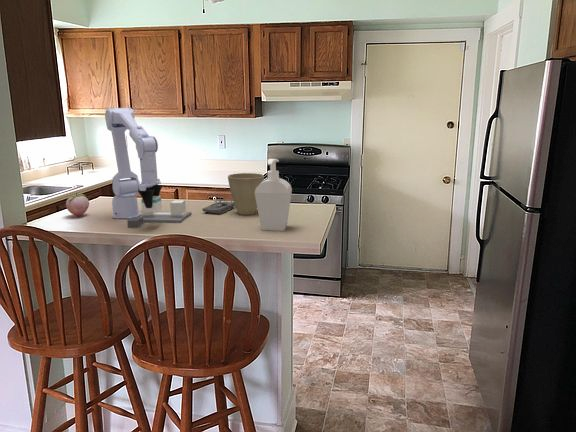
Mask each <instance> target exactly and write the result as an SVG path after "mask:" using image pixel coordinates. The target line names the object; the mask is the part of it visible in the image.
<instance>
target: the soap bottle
mask: <svg viewBox="0 0 576 432" xmlns="http://www.w3.org/2000/svg"><path fill="white" fill-rule="evenodd" d="M279 162H280V160H279V159H278V158H268V160H267V165H268V166H269V167H270V170H268V171H267V179H265V180H264V179H263V182H262V183H260V184H259V185H258V187H257V188H256V190H255V198H256V203H257V213H258V218H259V223H260V228H261V231H278V232H279V231H280V232H281V231H283V232H284V231H285V230H286V228H287V227H288V219H289V213H290V207H291V200H292V199H291V198H292V191H293V188H292V184H290V183H289V182H288V181H287V180H285V179H283V178H281V177H280V175H279V174H280V171H279V170H277V167H276V166H277V165H276V164H277V163H279Z"/></svg>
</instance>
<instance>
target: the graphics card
mask: <svg viewBox="0 0 576 432" xmlns="http://www.w3.org/2000/svg"><path fill="white" fill-rule="evenodd" d="M213 200H214V203H212V204H209V205H208V206H207V205H206V207H203V208H201V209H202V212H207V213H211V214H212V213H213V214H224V213H227V212H228V211H230V210H232V211H233V210H236V207H235V204H234V201H233V199H220V198H219V199H217V198H216V199H213Z"/></svg>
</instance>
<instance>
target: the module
mask: <svg viewBox="0 0 576 432" xmlns="http://www.w3.org/2000/svg"><path fill="white" fill-rule="evenodd" d="M161 196H162V195H159V196H153V199H152V208H146V207H145V204H144V201H143V199H142V197H141V200H140V201H141V202H142V204H141V212H142V211H143V212H157V211H158V212H160V211H161V210H163V207H162V206H163V205H162V197H161Z"/></svg>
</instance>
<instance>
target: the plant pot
mask: <svg viewBox="0 0 576 432" xmlns="http://www.w3.org/2000/svg"><path fill="white" fill-rule="evenodd" d="M227 179H228V187H229V190H230V195H231V197H232V200H233V202H234V204H235V207H236V209H235V210H236V212H237V214H239V215H244V216H248V215H249V216H251V215H254V214H256V211H258V208H257V203H256V198H255V190H256V188H257V187H258V185H259V184H260V183H262V182H263V181H264V174H261V173H256V172H254V173H252V172H240V173H232V174H229V175H227Z"/></svg>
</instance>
